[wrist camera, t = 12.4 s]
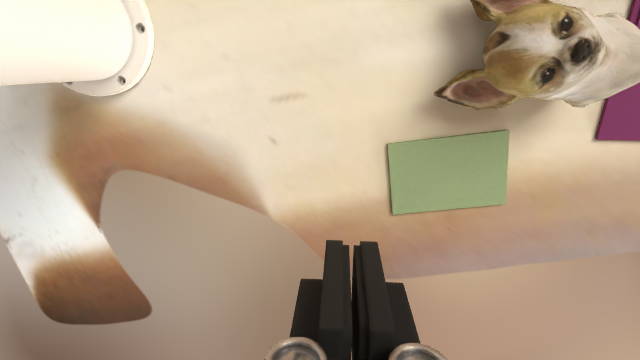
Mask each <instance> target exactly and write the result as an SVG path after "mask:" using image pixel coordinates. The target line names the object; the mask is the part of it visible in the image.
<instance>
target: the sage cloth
mask: <svg viewBox="0 0 640 360" xmlns="http://www.w3.org/2000/svg"><path fill="white" fill-rule="evenodd" d="M508 141H509V130H502V131H493V132H485V133H476V134H468V135H459V136H450V137H442V138H433V139H425V140H416V141H407V142H399V143H390V144H387V147H388V161H389V175H390V189H391V202H392V214H393V215H395V214H405V213H416V212H426V211H437V210H447V209H458V208H468V207H479V206H489V205H500V204H506V188H507V164H508Z"/></svg>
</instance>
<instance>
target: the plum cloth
mask: <svg viewBox="0 0 640 360" xmlns="http://www.w3.org/2000/svg"><path fill="white" fill-rule="evenodd" d="M628 21H630V22H631V23H633V24H634V25H636V27H637V28H638V29H639V30H640V0H633V3H632V7H631V10H630V14H629V18H628ZM595 139H597V140H640V82H639V83H637V84H636V85H634V86H631V87H629V88H627V89H625V90H622V91H620V92H618V93H616V94H614V95H612V96H610V97H608V98H606V102H605V105H604V109H603V113H602V116H601V120H600V124H599V127H598V131H597V135H596V138H595Z"/></svg>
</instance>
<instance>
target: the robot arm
mask: <svg viewBox="0 0 640 360" xmlns="http://www.w3.org/2000/svg"><path fill="white" fill-rule="evenodd" d="M143 28H145V30H143ZM153 48H154V33H153V25H152V21H151V17H150V14H149V11H148V9H147V6H146V4H145V2H144V0H0V86H2V85H20V84H38V83H56V82H60V83H61V84H62V85H64V86H66V87H68V88H70V89H72V90H74V91H76V92H79V93H82V94H86V95H92V96H108V95H114V94H118V93H121V92H124V91H126V90H128V89H130V88H131V87H133V86H134V85H135V84H136V83H138V82H139V80H140V79H141V78H142V77H143V76H144V74H145V73H146V71H147V69H148V67H149V65H150V62H151V58H152V55H153ZM125 81H126V82H125ZM351 350H352V360H447V359H446V357H444V356H443V355H442V354H441V353H440V352H438V351H437V350H435V349H433V348H431V347H429V346H427V345H423V344H420V341H419V337H418V334H417V330H416V326H415V323H414V320H413V316H412V312H411V309H410V305H409V302H408V298H407V295H406V291H405V288H404V285H403V283H392V282H390V283H389V282H385V278H384V273H383V268H382V263H381V258H380V253H379V248H378V243H377V242H365V241H360V246H356V245H354V253H353V276H352V299H351V284H350V259H349V245H343V241H337V240H326V250H325V262H324V274H323V280H321V279H301V281H300V286H299V292H298V296H297V302H296V307H295V312H294V317H293V323H292V328H291V333H290V338H286V339H284V340H282V341H280V342H278V343H276V344H275V345H274V346H273V347H272V348H271V349H270V350H269V352H268V353H267V355H266V357H265V359H264V360H351Z"/></svg>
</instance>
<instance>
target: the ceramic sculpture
mask: <svg viewBox="0 0 640 360" xmlns="http://www.w3.org/2000/svg"><path fill="white" fill-rule="evenodd" d="M470 1H471V3H472V5H473V8H474V10H475V12H476V14H477V16H478V17H480V18H481V19H482V20H485V21H493V22H496V23H497V24H498V25H497V27H496V29H495V30H494V31H493V32H492V33H491V34H490V36H489V37H488V39H487V41H486V43H485V46H484V51H483V63H484V65H485V69H482V70H466V71H464V72H461V73H460V74H458V75H457V76H456V77H455V78H453V79H452V80H451V81H450V82H449V83H447V84H446V85H445V86H443V87H441V88H440V89H438V90H437V91H435V92H434V95H435V96H438V97H440V98H444V99H447V100H448V101H450V102H453V103H456V104H460V105H463V106H467V107H471V108H474V109H477V110H478V109H498V108H501V107H504V106H507V105H509V104H511V103H512V102H514V101H515V100H517V99H520V98H523V97H534V98H538V99H543V100H556V99H561V100H564V101H565V102H566V103H568V104H570V105H571V106H573V107H585V106H587V105H589V104H591V103H594V102H597V101H600V100H603V99H606V98H608V97H610V96H612V95H614V94H616V93H618V92H620V91H622V90H625V89H627V88H629V87H631V86H634V85H636V84H637V83H639V82H640V30H639V29H638V28H637V27H636V25H634V24H633V23H631V22H630V21H628V20H626V19H624V17H623V16H622V15H621V14H617V13H608V14H605V15H600V16H594V15H593V14H591V13H589V12H588V11H587V10H586V9H583V8H577V7H570V6H565V5H561V4H556V3H553V2H551V1H550V0H470Z"/></svg>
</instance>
